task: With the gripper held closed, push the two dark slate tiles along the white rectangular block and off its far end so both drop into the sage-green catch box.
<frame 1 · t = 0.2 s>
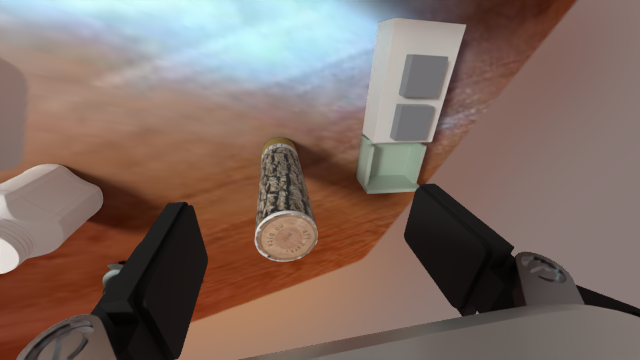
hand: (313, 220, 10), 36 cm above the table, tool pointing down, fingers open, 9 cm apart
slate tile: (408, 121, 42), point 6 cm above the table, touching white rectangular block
bark-textured canister: (279, 152, 47), on the table
catch box: (384, 156, 51), on the table
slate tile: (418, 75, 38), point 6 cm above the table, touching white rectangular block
jar: (66, 191, 43), on the table
white rectangular block: (399, 84, 44), on the table
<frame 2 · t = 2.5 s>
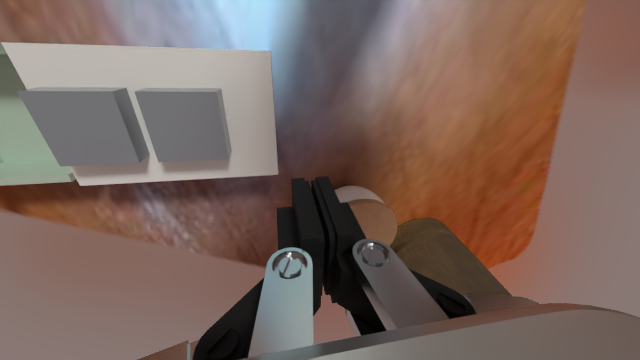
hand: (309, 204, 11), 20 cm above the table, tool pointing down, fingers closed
lidded jar: (343, 202, 37), on the table
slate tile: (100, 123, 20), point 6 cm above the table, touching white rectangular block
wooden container: (412, 246, 46), on the table
catch box: (31, 109, 24), on the table
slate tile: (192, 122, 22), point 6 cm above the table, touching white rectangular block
white rectangular block: (189, 108, 26), on the table
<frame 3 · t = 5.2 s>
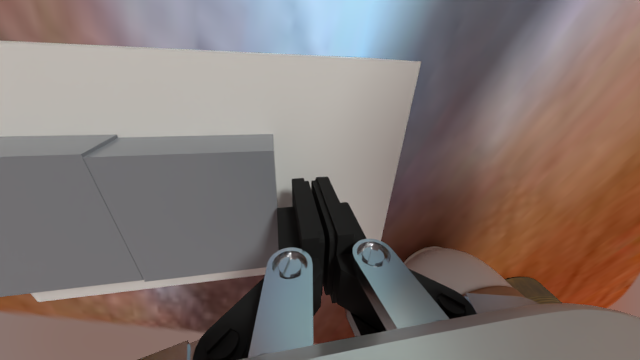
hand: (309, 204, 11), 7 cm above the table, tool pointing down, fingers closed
lidded jar: (423, 264, 27), on the table
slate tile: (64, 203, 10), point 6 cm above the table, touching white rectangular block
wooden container: (491, 307, 36), on the table
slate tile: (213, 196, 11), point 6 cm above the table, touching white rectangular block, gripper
white rectangular block: (228, 148, 16), on the table
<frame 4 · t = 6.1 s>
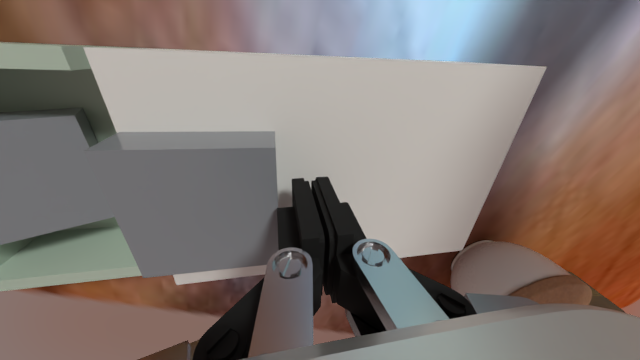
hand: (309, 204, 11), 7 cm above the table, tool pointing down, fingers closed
lidded jar: (472, 257, 28), on the table
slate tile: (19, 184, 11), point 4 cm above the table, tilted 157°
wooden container: (527, 300, 37), on the table
catch box: (91, 152, 15), on the table
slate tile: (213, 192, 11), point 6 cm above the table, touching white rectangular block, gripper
white rectangular block: (322, 146, 17), on the table
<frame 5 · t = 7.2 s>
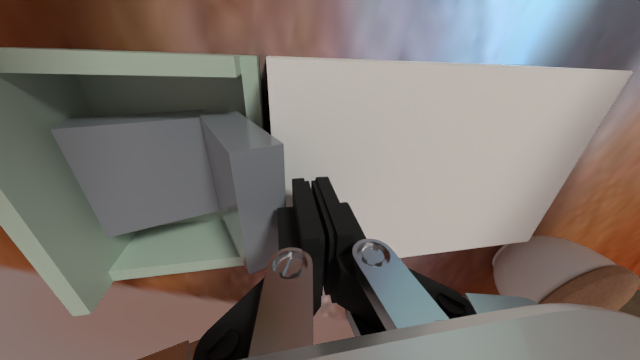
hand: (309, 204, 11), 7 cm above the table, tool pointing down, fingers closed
lidded jar: (512, 251, 29), on the table
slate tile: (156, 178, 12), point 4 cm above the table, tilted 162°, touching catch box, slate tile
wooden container: (557, 294, 38), on the table
catch box: (191, 152, 16), on the table
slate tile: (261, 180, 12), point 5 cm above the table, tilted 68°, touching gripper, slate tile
white rectangular block: (394, 145, 19), on the table
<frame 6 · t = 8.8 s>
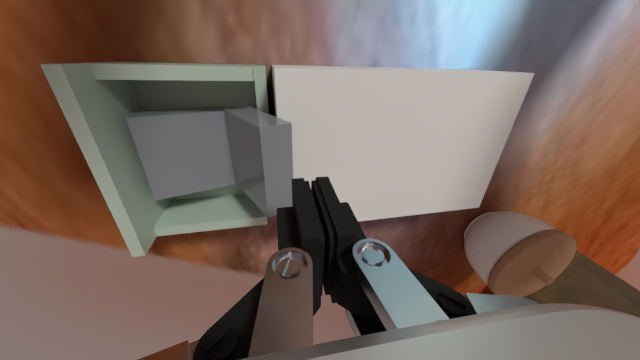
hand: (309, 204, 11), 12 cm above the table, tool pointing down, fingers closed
lidded jar: (481, 227, 34), on the table
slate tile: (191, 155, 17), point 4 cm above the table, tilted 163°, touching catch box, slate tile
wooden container: (526, 269, 43), on the table
catch box: (212, 139, 20), on the table
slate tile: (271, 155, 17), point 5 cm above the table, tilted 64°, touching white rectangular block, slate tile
white rectangular block: (371, 133, 23), on the table
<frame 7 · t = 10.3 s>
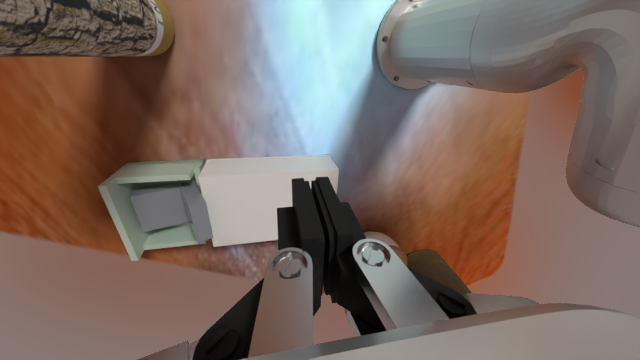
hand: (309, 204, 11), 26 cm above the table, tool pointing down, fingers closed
lidded jar: (366, 241, 51), on the table
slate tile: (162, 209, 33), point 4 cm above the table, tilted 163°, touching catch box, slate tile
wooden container: (413, 269, 60), on the table
bark-textured canister: (143, 22, 26), on the table
catch box: (176, 195, 37), on the table
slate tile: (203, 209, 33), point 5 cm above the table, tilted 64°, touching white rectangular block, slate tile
white rectangular block: (273, 189, 40), on the table
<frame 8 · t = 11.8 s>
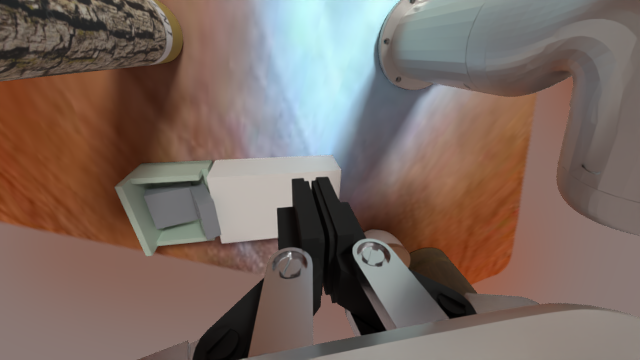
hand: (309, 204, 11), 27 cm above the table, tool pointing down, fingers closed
lidded jar: (370, 239, 52), on the table
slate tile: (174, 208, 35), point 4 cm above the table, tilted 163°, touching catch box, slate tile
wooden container: (418, 267, 60), on the table
bark-textured canister: (154, 31, 28), on the table
catch box: (187, 194, 39), on the table
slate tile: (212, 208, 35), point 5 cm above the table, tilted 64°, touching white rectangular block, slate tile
white rectangular block: (278, 188, 41), on the table
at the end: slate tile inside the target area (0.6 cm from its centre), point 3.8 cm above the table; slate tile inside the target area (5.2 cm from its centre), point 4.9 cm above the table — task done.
